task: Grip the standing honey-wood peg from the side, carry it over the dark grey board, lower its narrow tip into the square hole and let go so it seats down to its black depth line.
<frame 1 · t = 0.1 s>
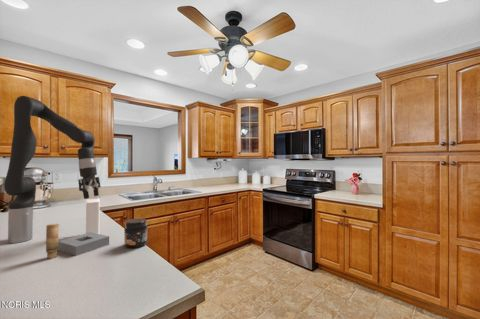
hand: (91, 197, 119), 22 cm above the counter, tool pointing down, fingers open, 8 cm apart
board: (84, 247, 108), on the counter
milk: (92, 235, 126), on the counter
supplement container: (135, 245, 111), on the counter
peg: (52, 257, 96), on the counter
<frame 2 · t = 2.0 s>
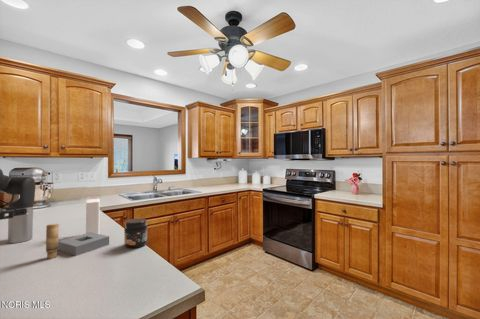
hand: (20, 210, 87), 22 cm above the counter, tool horizontal, fingers open, 8 cm apart
nothing on the counter moved.
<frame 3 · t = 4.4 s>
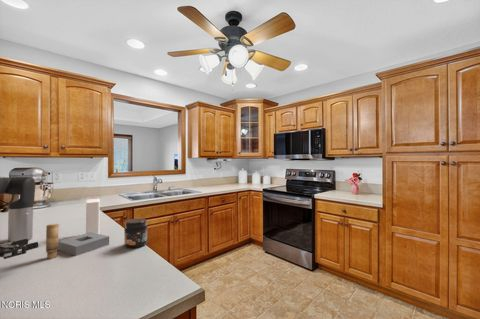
hand: (32, 242, 90), 8 cm above the counter, tool horizontal, fingers open, 8 cm apart
nothing on the counter moved.
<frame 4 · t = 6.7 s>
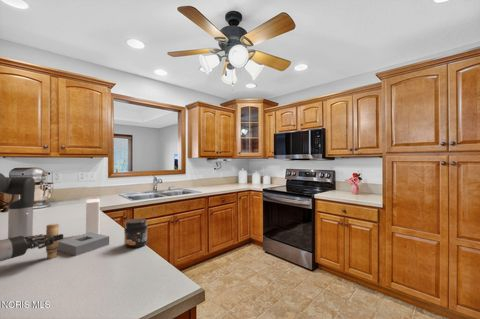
hand: (59, 235, 99), 9 cm above the counter, tool horizontal, fingers closed on peg, 4 cm apart
peg: (52, 257, 96), on the counter, touching gripper
everything else where it was.
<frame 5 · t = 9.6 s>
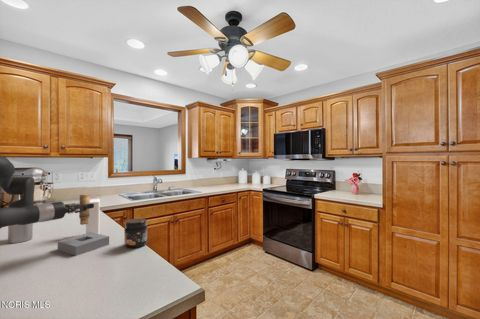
hand: (90, 205, 110), 20 cm above the counter, tool horizontal, fingers closed on peg, 4 cm apart
peg: (84, 223, 108), point 11 cm above the counter, touching gripper
everything else where it was.
when the fingers open (10 cm above the counter, at t = 12.8 s): peg drops 2 cm, resting in board.
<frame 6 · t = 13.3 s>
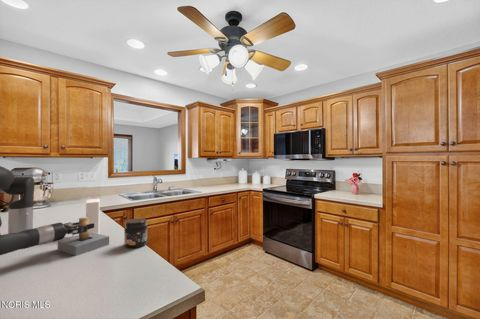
hand: (88, 224, 110), 11 cm above the counter, tool horizontal, fingers open, 8 cm apart
peg: (83, 247, 108), resting in board
everything else where it was.
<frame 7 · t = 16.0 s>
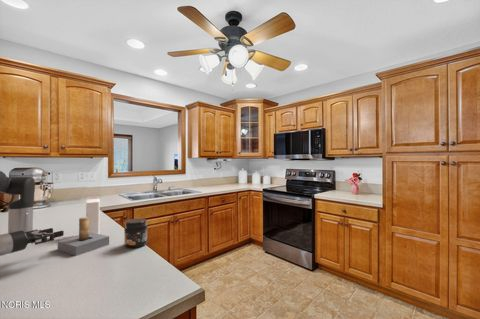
hand: (57, 231, 98), 11 cm above the counter, tool horizontal, fingers open, 8 cm apart
nothing on the counter moved.
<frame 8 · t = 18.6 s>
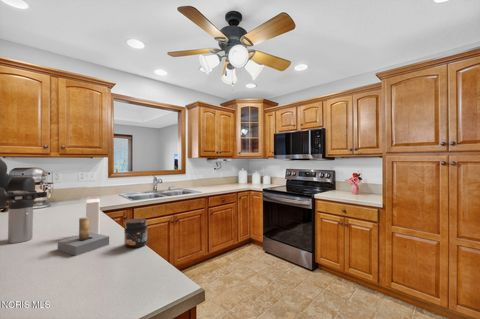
hand: (41, 193, 93), 28 cm above the counter, tool horizontal, fingers open, 8 cm apart
nothing on the counter moved.
at the end: peg 0.1 cm off-centre on the board, point 0.0 cm above the board's base; peg tilted 0°; the gripper is holding nothing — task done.
